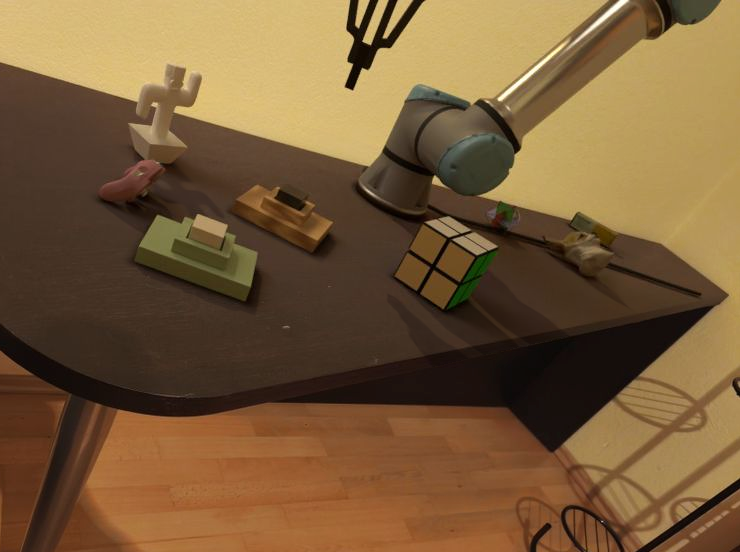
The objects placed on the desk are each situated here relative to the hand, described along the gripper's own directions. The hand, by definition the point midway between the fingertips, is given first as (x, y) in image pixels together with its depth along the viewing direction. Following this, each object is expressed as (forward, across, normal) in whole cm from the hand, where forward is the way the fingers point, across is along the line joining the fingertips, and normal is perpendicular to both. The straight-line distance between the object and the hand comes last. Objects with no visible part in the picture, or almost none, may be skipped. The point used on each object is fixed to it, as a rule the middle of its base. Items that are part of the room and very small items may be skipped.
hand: (349, 87), depth 99 cm
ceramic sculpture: (+23, +62, +35) cm, 75 cm away
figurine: (+20, -26, -6) cm, 33 cm away
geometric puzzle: (+23, +43, +35) cm, 60 cm away
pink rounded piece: (+20, -23, -24) cm, 39 cm away
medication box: (+24, +76, +67) cm, 104 cm away
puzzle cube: (+22, +24, -12) cm, 34 cm away
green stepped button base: (+20, -10, -35) cm, 41 cm away
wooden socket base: (+21, -2, -11) cm, 23 cm away
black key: (+17, -2, -11) cm, 20 cm away
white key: (+17, -10, -35) cm, 40 cm away
